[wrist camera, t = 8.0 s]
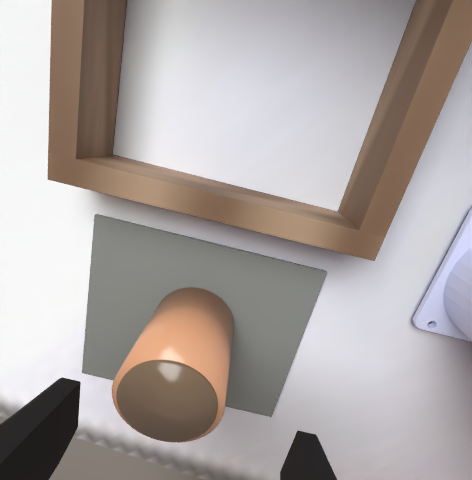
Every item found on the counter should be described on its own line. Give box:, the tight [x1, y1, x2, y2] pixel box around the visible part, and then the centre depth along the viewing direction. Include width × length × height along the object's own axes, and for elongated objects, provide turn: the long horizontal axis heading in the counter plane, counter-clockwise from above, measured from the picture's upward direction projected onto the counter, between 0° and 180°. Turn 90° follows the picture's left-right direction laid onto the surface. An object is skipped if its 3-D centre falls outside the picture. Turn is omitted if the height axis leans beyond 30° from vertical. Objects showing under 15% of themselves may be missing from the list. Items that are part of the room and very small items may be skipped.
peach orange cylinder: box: [112, 287, 234, 442], centre depth 16 cm, size 5×5×6 cm
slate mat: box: [82, 214, 327, 417], centre depth 19 cm, size 14×12×1 cm
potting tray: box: [48, 0, 472, 261], centre depth 10 cm, size 15×15×9 cm
